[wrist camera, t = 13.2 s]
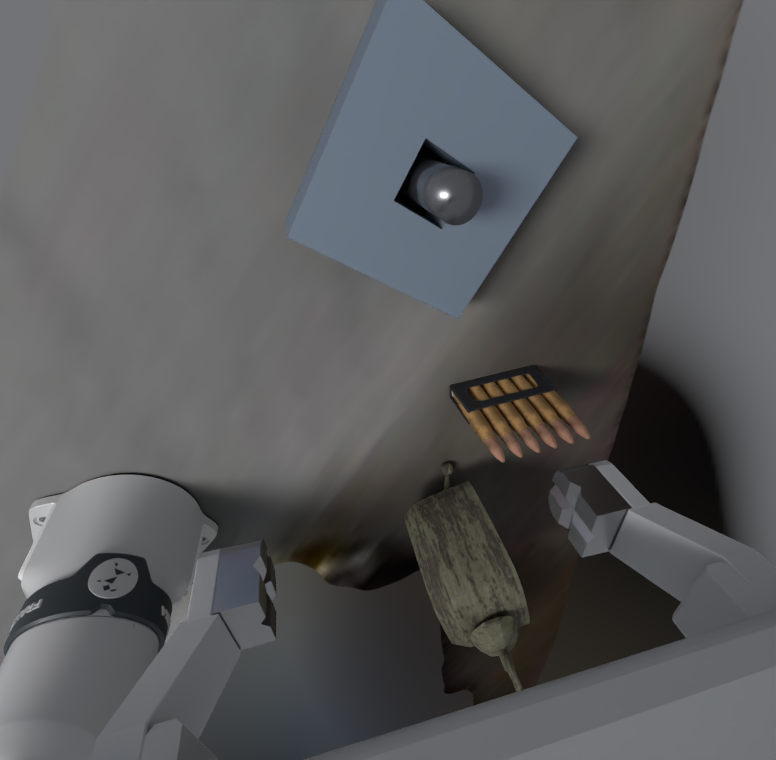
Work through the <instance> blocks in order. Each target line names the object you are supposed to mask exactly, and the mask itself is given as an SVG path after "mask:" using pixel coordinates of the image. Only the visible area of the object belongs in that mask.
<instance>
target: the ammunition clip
mask: <svg viewBox="0 0 776 760" xmlns="http://www.w3.org/2000/svg"><path fill="white" fill-rule="evenodd" d="M555 391H557V389H556V388H555V387H554V386H553V385H552V384H551V383H550V381H549V380H548V379H547V378H546V377H545V376H544V375H543V374H542V373H541V371H540V370H539V369H538V368H537V367H536V366H535V365H531V366H527V367H523V368H518V369H514V370H510V371H506V372H502V373H498V374H494V375H490V376H485V377H481V378H477V379H473V380H469V381H465V382H461V383H457V384H452V385H450V398H451V400H452V401H453V403H454V404H455V405H456V407H457V408H458V410H459V411H460V413H461V414H462V415H463V417H464V418H465V420H466V421H467V423H468V424H470V425H471V426H472V428H473V429H474V431H475V433H476V434H477V436H478V437H479V438H480V439H481V440H482V441H483V442H484V444H485V445H486V446H487V448H488V449H489V450H490V452H491V453H492V454H493V455H494V456H495V457H496V458H497V459H498V460H499V461H501V462H503V463H504V462H505V456H504V453H503V450H502V448H501V446H500V444H499V442H498V441H497V439H496V437H495V435H494V433H493V431H494V432H495V433H496V434H497V435H498V436H499V437H500V438H501V440H502V441H503V442H504V443H505V445H506V446H507V447H508V448H509V449H510V450H511V451H512V452H513V453H514V454H515V455H516V456H518V457H520V458H522V457H523V453H522V450H521V447H520V445H519V443H518V441H517V439H516V438H515V436H514V435H513V433H512V431H511V430H510V428H511V429H512V430H514V431H515V432H516V433H517V434H518V436H519V437H520V438H521V439H522V440H523V442H524V443H525V444H526V445H527V446H528V447H529V448H531V449H532V450H533V451H535V452H537V453H540V447H539V444H538V442H537V440H536V438H535V437H534V435H533V434H532V432H531V431H530V429H529V428H528V426H529V427H531V428H532V429H533V430H534V432H535V433H537V435H538V436H539V437H540V438H541V439H542V440H543V441H544V442H545V443H547V444H548V445H549V446H551V447H553V448H557V443H556V441H555V438H554V436H553V435H552V433H551V432H550V430H549V429H548V428H547V427H546V425H545V424H544V422H545V423H546V424H548V425H549V427H550V428H552V429H553V430H554V431H555V433H556V434H557V435H559V436H560V437H561V438H562V439H563V440H565V441H567V442H568V443H571V444H574V440H573V437H572V435H571V433H570V432H569V430H568V429H567V427H566V426H565V425H564V423H563V422H562V421H561V420H560V419H562V420H563V421H564V422H565V423H566V424H568V425H569V426H570V427H571V428H572V429H573V430H574V431H575V432H576V433H577V434H579V435H580V436H582V437H584V438H586V439H590V434H589V432H588V430H587V428H586V427H585V425H584V424H583V423H582V422H581V420H580V419H579V418H578V417H577V416H576V415H575V413H574V412H573V411H572V409H571V408H570V406H569V405H568V404H567V403H566V402H565V401H564V400H563V399H562V398H561V397H560V396H559V395H558V394H557V393H556V392H555ZM543 421H544V422H543ZM526 424H527V425H528V426H527V425H526ZM509 426H510V428H509ZM492 429H493V431H492Z"/></svg>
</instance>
